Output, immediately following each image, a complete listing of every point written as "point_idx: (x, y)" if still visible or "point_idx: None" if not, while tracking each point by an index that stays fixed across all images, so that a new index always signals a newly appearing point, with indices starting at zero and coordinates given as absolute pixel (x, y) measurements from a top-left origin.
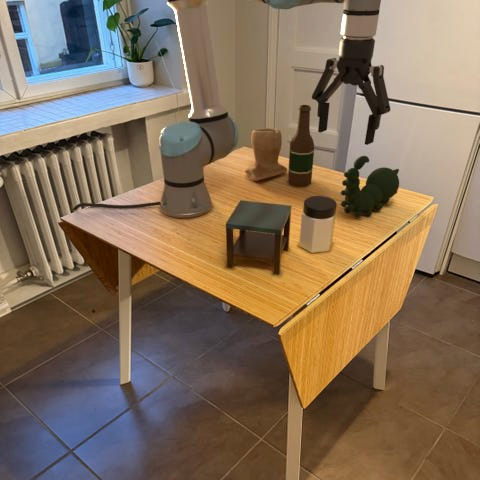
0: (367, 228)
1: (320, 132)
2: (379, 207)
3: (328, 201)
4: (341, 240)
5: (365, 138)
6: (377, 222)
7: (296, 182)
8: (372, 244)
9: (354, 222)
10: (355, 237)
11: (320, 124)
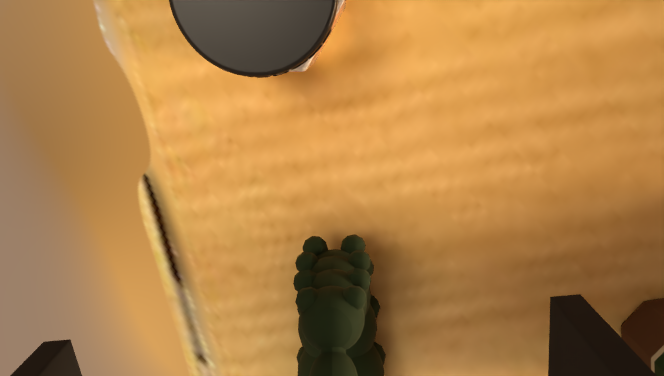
0: (252, 237)
1: (550, 297)
2: (299, 354)
3: (233, 33)
4: (248, 107)
5: (38, 371)
6: (261, 292)
7: (660, 307)
8: (166, 165)
9: None
10: (234, 160)
11: (599, 342)
